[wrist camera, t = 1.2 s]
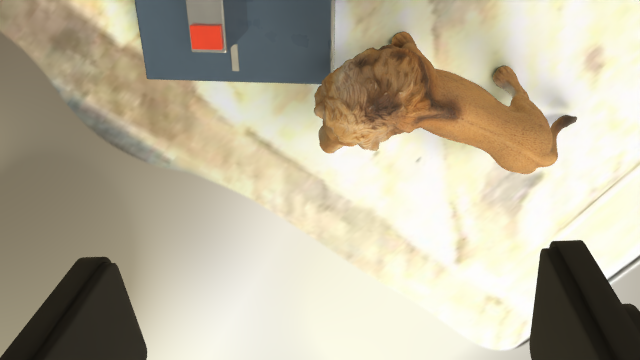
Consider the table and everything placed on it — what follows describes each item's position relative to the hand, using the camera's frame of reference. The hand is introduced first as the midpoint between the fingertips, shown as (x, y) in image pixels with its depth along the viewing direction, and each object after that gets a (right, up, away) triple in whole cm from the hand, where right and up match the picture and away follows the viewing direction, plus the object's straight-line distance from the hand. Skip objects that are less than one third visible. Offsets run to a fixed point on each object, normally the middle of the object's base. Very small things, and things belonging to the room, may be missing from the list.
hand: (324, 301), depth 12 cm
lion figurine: (+7, +8, +19) cm, 22 cm away
